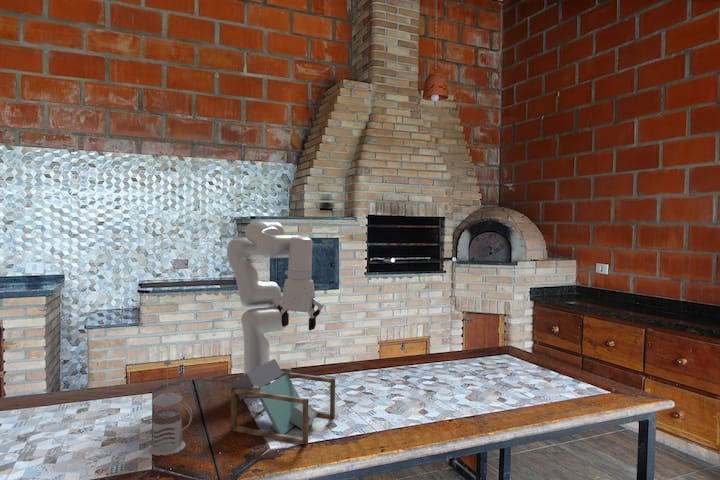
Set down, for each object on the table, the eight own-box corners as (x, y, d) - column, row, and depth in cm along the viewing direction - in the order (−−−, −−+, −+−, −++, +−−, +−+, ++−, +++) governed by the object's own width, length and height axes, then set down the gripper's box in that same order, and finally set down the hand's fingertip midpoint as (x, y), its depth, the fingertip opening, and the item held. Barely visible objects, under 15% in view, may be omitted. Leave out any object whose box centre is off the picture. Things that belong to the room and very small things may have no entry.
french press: (155, 439, 140) (155, 355, 139) (195, 438, 141) (196, 355, 140) (142, 456, 130) (142, 365, 129) (186, 454, 131) (186, 364, 130)
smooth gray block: (294, 407, 148) (310, 417, 146) (302, 401, 153) (317, 411, 151) (288, 420, 149) (304, 431, 147) (296, 414, 153) (311, 424, 152)
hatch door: (230, 383, 148) (248, 371, 146) (261, 367, 165) (277, 356, 163) (263, 446, 145) (282, 435, 142) (291, 423, 161) (308, 413, 159)
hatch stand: (230, 430, 146) (230, 384, 146) (267, 406, 167) (267, 365, 166) (306, 444, 138) (306, 395, 137) (334, 417, 158) (335, 373, 157)
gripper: (270, 274, 153) (269, 327, 154) (319, 279, 147) (317, 333, 148) (282, 272, 160) (280, 322, 161) (329, 276, 154) (327, 328, 155)
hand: (298, 327), depth 155 cm, fingers open, 9 cm apart
